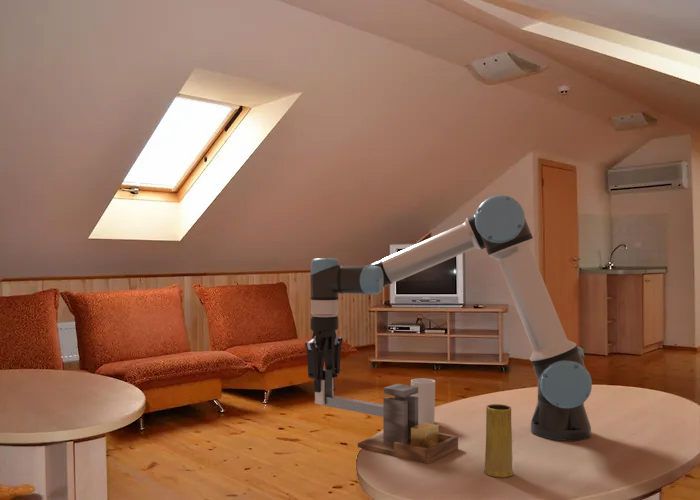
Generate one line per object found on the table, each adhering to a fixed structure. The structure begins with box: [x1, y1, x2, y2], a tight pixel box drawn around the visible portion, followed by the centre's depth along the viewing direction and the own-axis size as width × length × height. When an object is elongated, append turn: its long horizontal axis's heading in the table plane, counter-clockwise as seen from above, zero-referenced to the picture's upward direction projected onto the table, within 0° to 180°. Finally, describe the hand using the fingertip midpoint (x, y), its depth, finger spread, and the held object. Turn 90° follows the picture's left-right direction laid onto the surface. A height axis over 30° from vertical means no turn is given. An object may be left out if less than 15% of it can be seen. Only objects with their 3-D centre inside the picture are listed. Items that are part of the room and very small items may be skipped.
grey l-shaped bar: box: [322, 367, 383, 418], centre depth 164 cm, size 26×3×9 cm, turn 53°
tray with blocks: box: [357, 383, 459, 465], centre depth 155 cm, size 20×14×14 cm
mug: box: [410, 378, 436, 425], centre depth 179 cm, size 10×7×12 cm, turn 161°
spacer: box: [411, 422, 440, 448], centre depth 152 cm, size 5×6×4 cm
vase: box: [484, 403, 514, 479], centre depth 137 cm, size 6×6×14 cm
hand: (324, 402), depth 171 cm, fingers closed on grey l-shaped bar, 3 cm apart
